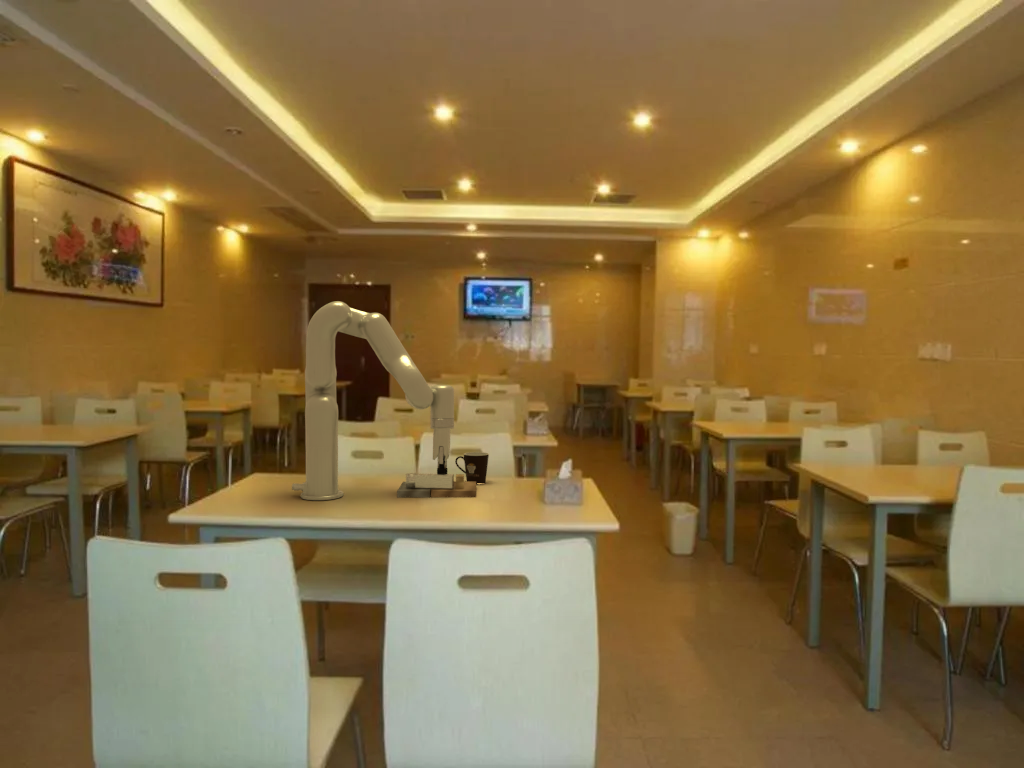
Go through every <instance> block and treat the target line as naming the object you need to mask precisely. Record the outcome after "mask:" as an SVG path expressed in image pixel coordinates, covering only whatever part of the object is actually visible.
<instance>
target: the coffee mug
mask: <svg viewBox="0 0 1024 768" xmlns="http://www.w3.org/2000/svg"><path fill="white" fill-rule="evenodd" d="M489 455H490V454H489V453H487V452H483V451H476V452H475V451H473V452H472V451H471V452H465V453H463V456H461V455H460V456H457V457H456V459H455V460H454V461H455V465H456V467H457V468H458V469H459V470H460V471H461V472H462V473H464V475H465V477H466V478H465V479H466V481H476V484H477V483H485V484H486V480H487V472H488V464H489ZM459 459H462V460H463V462H464V469H465V470H464V469H463V468H462V467H461V466H460V465H459V464H458V460H459Z"/></svg>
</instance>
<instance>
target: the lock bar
mask: <svg viewBox="0 0 1024 768" xmlns="http://www.w3.org/2000/svg"><path fill="white" fill-rule="evenodd" d="M454 477H455V475H454V474H453V473H449V474H448V473H447V474H437V473H415V472H414V473H413V472H411V473H410V472H409V473H406V474H405V482H406V487H407V488H453V487H454V482H455V481H454Z"/></svg>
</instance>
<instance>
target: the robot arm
mask: <svg viewBox="0 0 1024 768" xmlns="http://www.w3.org/2000/svg"><path fill="white" fill-rule="evenodd" d="M338 332H339V333H343V334H346V335H350V336H354V337H357V338H361V339H365V340H366V341H367V342H368V344H369V346H370V347H371V348H372V350H373V351H374V353H375V355H376V356H377V358H378V360H379V361H380V363H381V365H382V366H383V367H384V368H385V370H386V371H387V372H388V373H389V374H390V375H391V376H393V378H394V379H395V380H396V382H397V383H398V385H399V387H400V388H401V389H402V391H403V392H404V397H405V401H406V402H407V404H408V405H409V406H410V407H413V408H414V409H417V410H425V409H427V408H429V407H430V429H431V430H433V434H432V436H433V437H432V460H434V461H435V460H436V459H437V468H436V474H448V459H449V457H450V451H451V430H452V429H455V389H454V387H453V386H452V385H449V384H437V385H436V384H435V385H429V384H428V382H427V381H426V379H425V377H424V376H423V374H422V372H421V371H420V370H419V368H418V367H417V365H416V363H414V361H413V359H412V356H410V353H408V351H407V349H406V348H405V347H404V345H403V344H402V342H401V340H400V339H399V338H398V335H397V334H396V332H395V331H394V329H393V327H392V326H391V324H390V322H389V321H388V320H387V318H386V317H385V316H384V315H383V314H381V313H379V312H366V311H362V310H359V309H355V308H353V307H350V306H349V305H348V304H347V303H346V302H344V301H339V300H337V301H331V302H329V303H326V304H325V305H323V306H322V307H320V308H319V309H318V310H316V312H315V313H314V314H313V316H312V317H311V319H310V320H309V323H308V326H307V328H306V339H305V344H306V345H305V346H306V347H305V369H304V386H305V391H304V393H305V408H304V416H305V417H304V418H305V419H304V421H305V424H304V425H305V426H304V427H305V428H304V429H305V482H302V483H292V484H291V490H292V491H301V493H300V498H301V499H303V500H308V501H328V500H335V499H339V498H342V497H343V496H344V491H343V490H341V489H339V405H338V403H337V376H338V375H337V373H338V371H337V366H336V337H337V334H338Z"/></svg>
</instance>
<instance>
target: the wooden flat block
mask: <svg viewBox="0 0 1024 768" xmlns="http://www.w3.org/2000/svg"><path fill="white" fill-rule="evenodd" d="M396 497H397V498H476V497H477V485H476V481H467V480H466V481H465V473H464V474H463V473H458V474H457V473H456V475H455V481H454V487H453V488H407V487H406V481H402V483H401V484H400V486H399V487H398V488H397V491H396Z"/></svg>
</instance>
